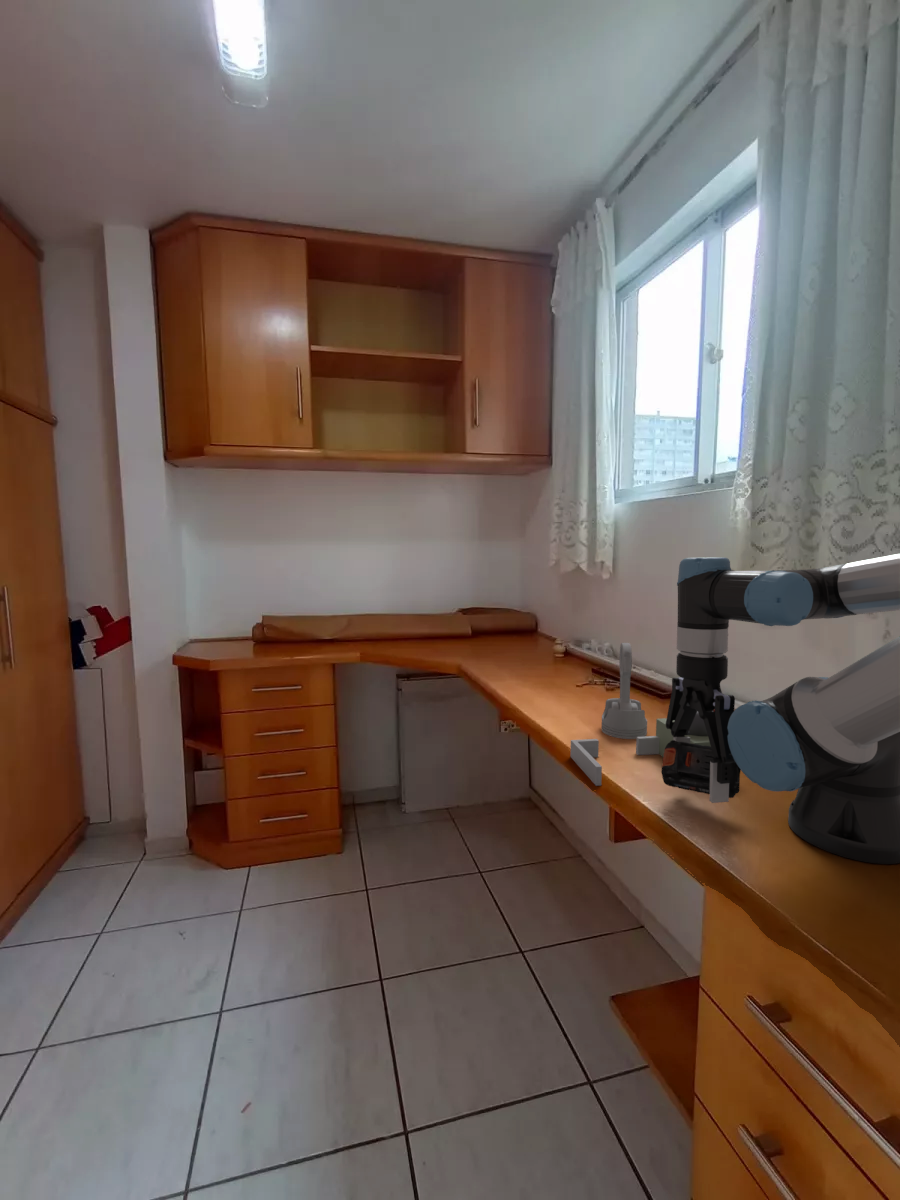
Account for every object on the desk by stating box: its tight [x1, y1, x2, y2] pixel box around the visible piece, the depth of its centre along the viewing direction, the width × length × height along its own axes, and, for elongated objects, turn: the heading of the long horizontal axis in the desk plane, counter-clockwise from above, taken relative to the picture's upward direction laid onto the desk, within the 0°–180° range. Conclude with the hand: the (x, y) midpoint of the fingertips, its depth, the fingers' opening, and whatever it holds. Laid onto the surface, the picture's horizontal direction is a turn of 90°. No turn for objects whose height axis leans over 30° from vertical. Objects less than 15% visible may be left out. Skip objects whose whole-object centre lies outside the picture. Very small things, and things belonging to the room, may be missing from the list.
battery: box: [660, 740, 742, 799], centre depth 91 cm, size 12×8×7 cm
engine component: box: [601, 642, 648, 740], centre depth 126 cm, size 11×20×10 cm
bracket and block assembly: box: [570, 710, 715, 787], centre depth 106 cm, size 14×26×11 cm, turn 97°
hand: (699, 786), depth 90 cm, fingers closed on battery, 10 cm apart
